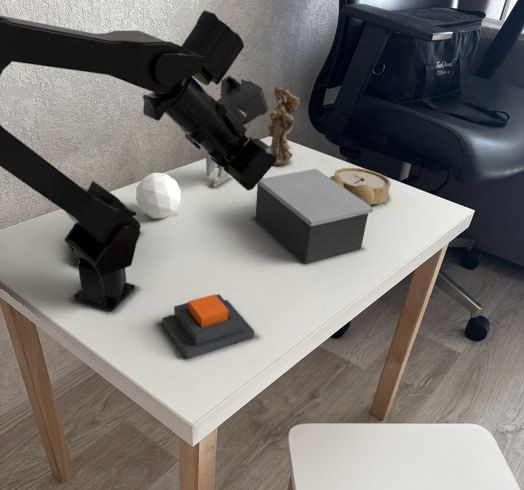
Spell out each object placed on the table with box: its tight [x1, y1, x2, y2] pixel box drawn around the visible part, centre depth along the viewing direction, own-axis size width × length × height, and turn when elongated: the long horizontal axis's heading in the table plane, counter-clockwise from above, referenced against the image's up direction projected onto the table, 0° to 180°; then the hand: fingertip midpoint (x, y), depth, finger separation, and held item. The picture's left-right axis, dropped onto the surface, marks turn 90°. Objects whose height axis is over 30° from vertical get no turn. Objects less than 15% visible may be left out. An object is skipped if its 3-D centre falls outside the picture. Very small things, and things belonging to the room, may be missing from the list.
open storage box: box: [254, 183, 369, 265], centre depth 99 cm, size 12×17×7 cm
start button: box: [187, 293, 228, 328], centre depth 76 cm, size 4×4×2 cm
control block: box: [161, 293, 255, 360], centre depth 78 cm, size 10×8×3 cm
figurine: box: [267, 86, 301, 167], centre depth 120 cm, size 7×6×15 cm
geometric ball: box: [135, 171, 182, 219], centre depth 100 cm, size 8×8×8 cm
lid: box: [257, 168, 374, 226], centre depth 97 cm, size 12×17×1 cm
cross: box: [205, 152, 230, 188], centre depth 111 cm, size 10×3×10 cm, turn 149°
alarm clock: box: [329, 167, 392, 207], centre depth 112 cm, size 11×5×15 cm
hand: (260, 178), depth 89 cm, fingers closed
